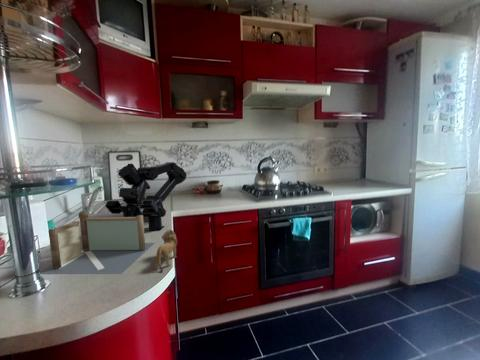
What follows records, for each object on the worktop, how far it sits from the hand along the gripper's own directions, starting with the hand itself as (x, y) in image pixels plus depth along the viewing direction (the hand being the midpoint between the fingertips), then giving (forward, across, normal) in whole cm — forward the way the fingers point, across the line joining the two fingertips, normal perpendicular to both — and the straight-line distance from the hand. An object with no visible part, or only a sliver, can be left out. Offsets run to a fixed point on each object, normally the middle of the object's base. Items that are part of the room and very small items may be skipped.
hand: (125, 226), depth 90 cm
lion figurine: (+15, +20, -3) cm, 25 cm away
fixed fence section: (+13, -13, -2) cm, 18 cm away
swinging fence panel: (+8, -1, +2) cm, 8 cm away
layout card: (+12, -4, 0) cm, 12 cm away
